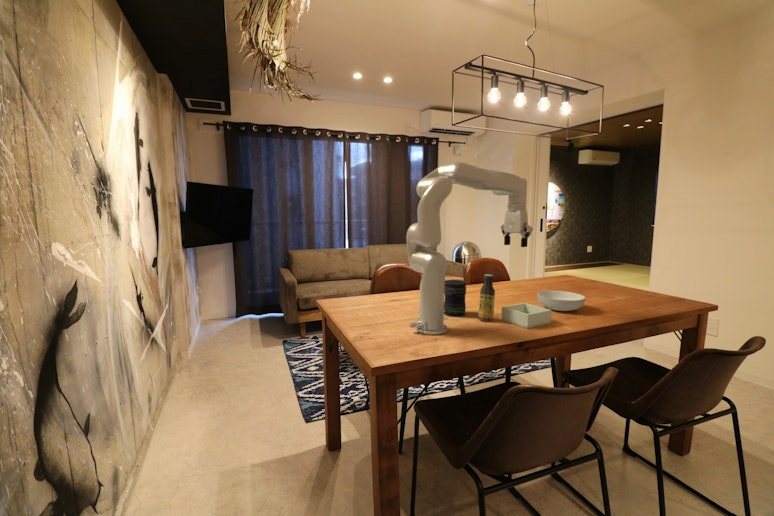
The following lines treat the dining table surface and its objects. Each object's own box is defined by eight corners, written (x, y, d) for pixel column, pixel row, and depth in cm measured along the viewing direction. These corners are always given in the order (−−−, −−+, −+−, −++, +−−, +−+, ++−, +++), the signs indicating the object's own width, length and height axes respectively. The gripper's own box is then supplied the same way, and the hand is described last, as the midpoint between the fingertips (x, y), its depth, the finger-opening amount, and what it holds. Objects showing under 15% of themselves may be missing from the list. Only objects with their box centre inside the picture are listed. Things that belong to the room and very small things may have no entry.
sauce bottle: (476, 320, 160) (477, 275, 157) (480, 317, 166) (481, 273, 163) (492, 323, 157) (493, 276, 154) (495, 319, 163) (496, 274, 160)
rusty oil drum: (448, 309, 177) (449, 279, 175) (468, 312, 172) (469, 281, 170) (440, 315, 169) (440, 282, 167) (461, 318, 164) (461, 285, 162)
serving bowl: (593, 315, 168) (594, 300, 167) (546, 315, 168) (547, 300, 167) (571, 303, 188) (572, 290, 187) (529, 303, 189) (530, 290, 188)
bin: (527, 328, 149) (528, 314, 149) (501, 319, 162) (501, 306, 161) (550, 323, 156) (551, 310, 155) (524, 315, 168) (524, 302, 167)
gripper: (496, 207, 169) (494, 244, 172) (526, 207, 154) (524, 248, 157) (508, 207, 173) (506, 243, 175) (539, 207, 158) (537, 247, 160)
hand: (515, 245), depth 166 cm, fingers open, 9 cm apart
